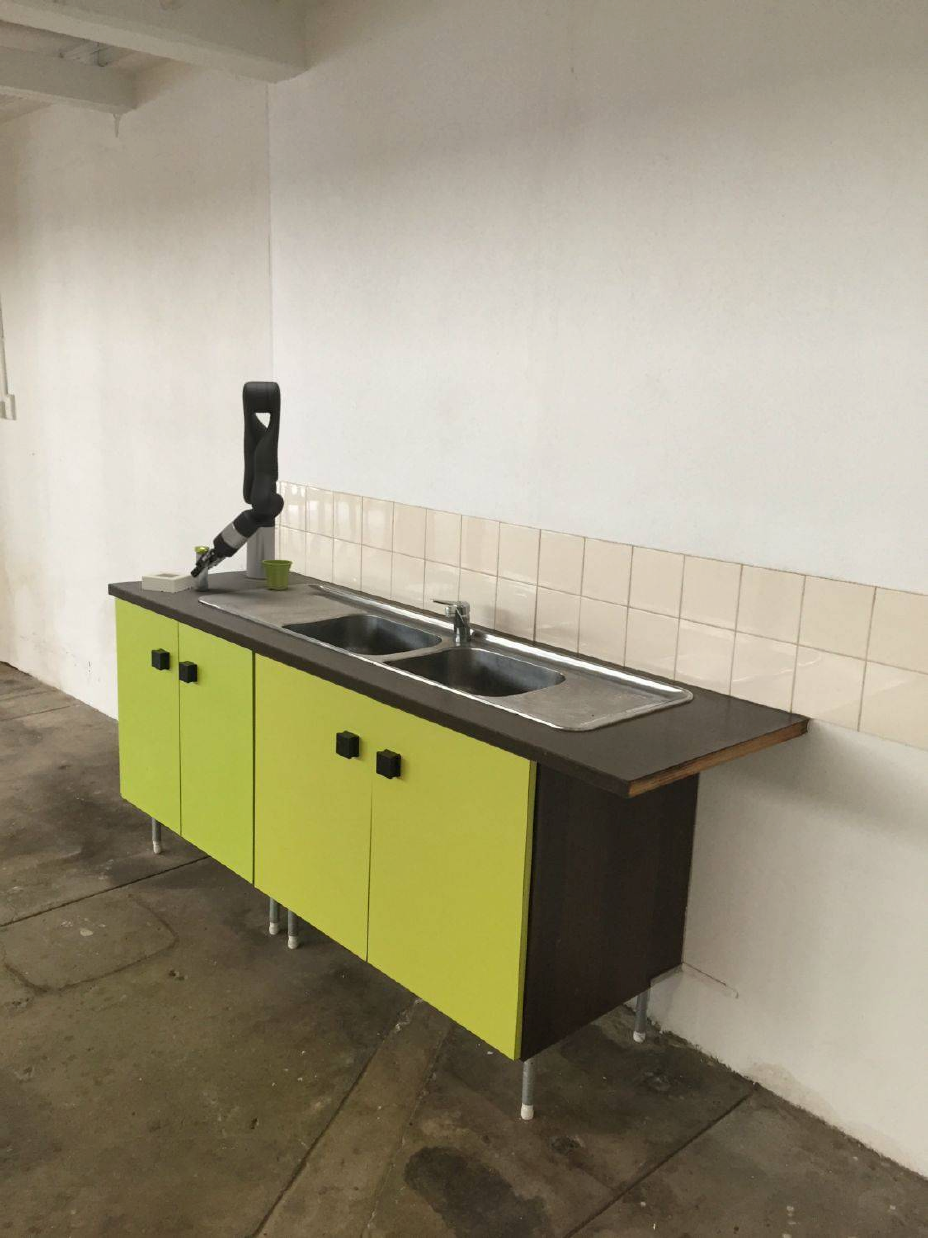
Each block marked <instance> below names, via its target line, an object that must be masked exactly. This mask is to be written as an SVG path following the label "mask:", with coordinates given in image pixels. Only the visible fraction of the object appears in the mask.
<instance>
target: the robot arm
mask: <svg viewBox="0 0 928 1238" xmlns="http://www.w3.org/2000/svg"><path fill="white" fill-rule="evenodd" d="M281 395H282V394H281V389H280V385H279V383H278V382H276V381H262V380H261V381H260V380H259V381H258V380H257V381H254V380H253V381H252V380H251V381H246V382H245V383H244V385H243V386H242V396H241V397H242V409H243V427H244V428H243V429H244V430H243V431H244V432H243V463H244V464H243V465H244V467H243V484H242V497H243V501H244V502H245V503H246V504H247V505H251V508H249V509H245V510H243V511H242V512H241V513H239V514H238V515H237V517H236V518H234V519H233V521H231V522H230V523H229V524H227V525H226V526H225V527H224V528H223V529H222V530H221V531H220V532H219V533H218V534H217V535H216V537H215V538H214V539H213V540H212V545H213V547H212V548H210V550H209V551H208V553H207V554H205V553H204V554H202V556H201V557H200V558H199V560H198V561H197V562H196V561H195V563H194V565H195V567H194V568H193V569H192V570H191V571H190V574H191V575H192V576H193V579H196V577H197V576H198V575H199V574H200V573H201V572H202V571H203V570H204V569H206V568H207V567H208V571H210V569H213V568H214V567H217V566H218V565H219V564H220V563H221V562H223V561H224V560H225V559H226V558H233V556H234V555H235V554H236V553H238V551H239V550H240V549H241V548H242V547H243V546H245V544H246V570H245V571H246V575H245V576H246V577H247V578H249V579H259V580H261V579H262V580H264V579H265V580H266V573H265V568H264V564H263V563H262V561H264V560H276V518H277V517H278V516H279V515H280V514H281V513H282V512H283V509H284V506H285V499H284V497H283V496H282V495H281V494H280V493H278V491H277V490H278V489H277V488H278V485H277V482H278V481H279V457H278V456H279V453H278V451H279V439H280V426H281V424H280V423H281V409H282V408H281V406H282V404H281V403H282V398H281V397H282V396H281ZM257 414H269V421H268V425H267V426H266V425H265V424H264V423H263V422H262V421H261V420H260V419H259V417H258V416H257Z"/></svg>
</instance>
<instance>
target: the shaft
mask: <svg viewBox="0 0 928 1238" xmlns="http://www.w3.org/2000/svg"><path fill="white" fill-rule="evenodd" d="M210 549H211V548H210V546H203V545H201V546H200V545H198V546H194V552H195V555H196V556H195V557H196V558H195V563H196V562H197V561H198V560H199V558H200V557H201V556H202V554H204V553H205V554H207V553H208V551H209V550H210ZM195 587H196V588H195V590H196V591H198V592H199V591H200V592H206V591H209V570H208V567H207V568H206V569H204V570H203V571H202V572H201V573H200V574H199V575H198V576H197V577H196V578H195Z"/></svg>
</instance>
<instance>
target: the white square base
mask: <svg viewBox="0 0 928 1238" xmlns="http://www.w3.org/2000/svg"><path fill="white" fill-rule="evenodd" d="M191 587H193V588H194V577H193V576H192V575H191V573H190V574H189V573H181V572H173V571H158V572H154V573H150V574H146V575H142V576H141V589H142V590H146V591H152V592H153V591H154V592H161V591H163V593H169V592H170V593H171V594H175V592H176V593H178V591H179V592H182V591H186V590H189V589H192V588H191ZM188 588H189V589H188ZM185 589H186V590H185Z"/></svg>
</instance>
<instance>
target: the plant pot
mask: <svg viewBox="0 0 928 1238" xmlns="http://www.w3.org/2000/svg"><path fill="white" fill-rule="evenodd" d="M262 563H263V564H264V568H265V573H266V579H265V580H266V587H267V589H268V590H274V591H283V590H287V589H288V582H289V577H290V571H291V568H292V565H293V561H291V560H287V559H275V560H264V561H262Z"/></svg>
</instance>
